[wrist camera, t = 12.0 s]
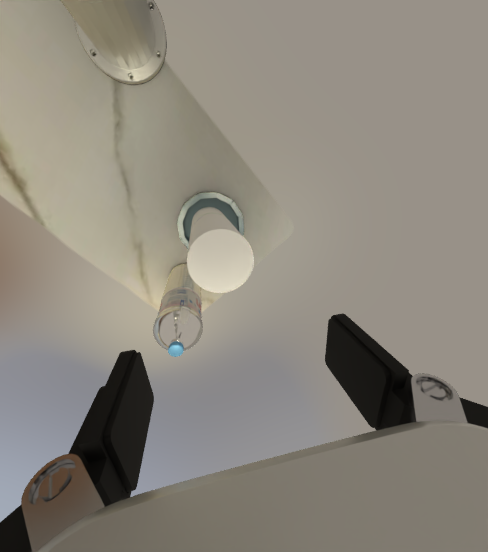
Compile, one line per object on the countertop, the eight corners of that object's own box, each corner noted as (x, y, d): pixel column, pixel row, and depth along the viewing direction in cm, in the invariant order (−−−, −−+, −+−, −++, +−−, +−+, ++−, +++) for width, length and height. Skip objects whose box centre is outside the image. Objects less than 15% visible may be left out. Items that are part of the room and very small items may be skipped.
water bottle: (193, 294, 53) (191, 377, 30) (164, 284, 51) (138, 365, 28) (205, 269, 51) (212, 336, 29) (176, 257, 49) (158, 320, 26)
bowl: (173, 194, 45) (172, 195, 42) (239, 190, 47) (241, 190, 44) (184, 257, 50) (183, 261, 47) (242, 251, 51) (245, 255, 49)
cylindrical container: (184, 221, 46) (171, 259, 23) (211, 199, 45) (226, 214, 22) (207, 248, 49) (216, 304, 26) (233, 227, 48) (266, 265, 25)
